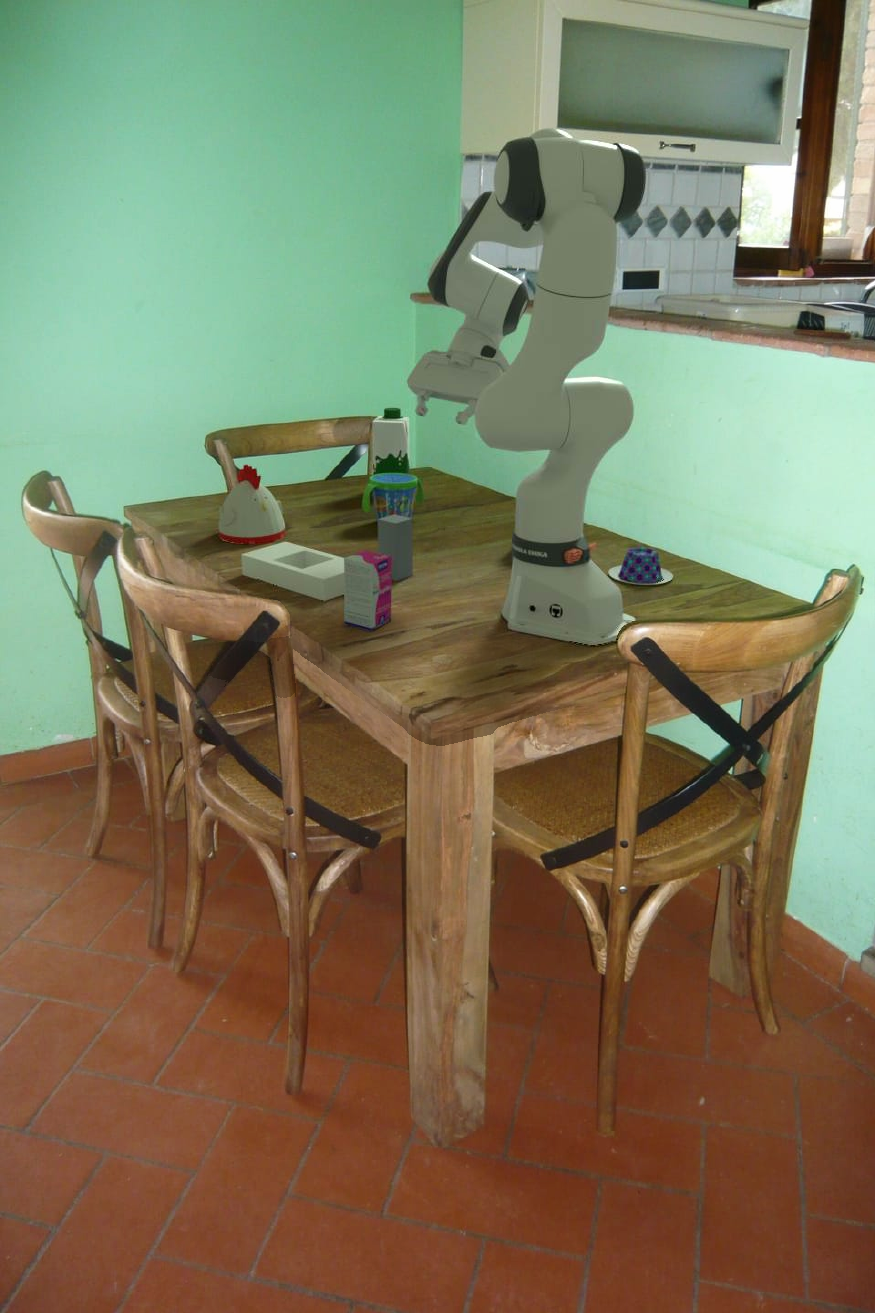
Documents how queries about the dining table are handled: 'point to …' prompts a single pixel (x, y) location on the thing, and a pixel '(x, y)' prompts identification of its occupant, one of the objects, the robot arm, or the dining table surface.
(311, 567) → the white socket block
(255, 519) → the kitchen timer
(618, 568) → the pudding
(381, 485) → the snack cup
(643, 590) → the dining table surface
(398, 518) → the charcoal peg
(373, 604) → the supplement box
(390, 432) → the milk carton
